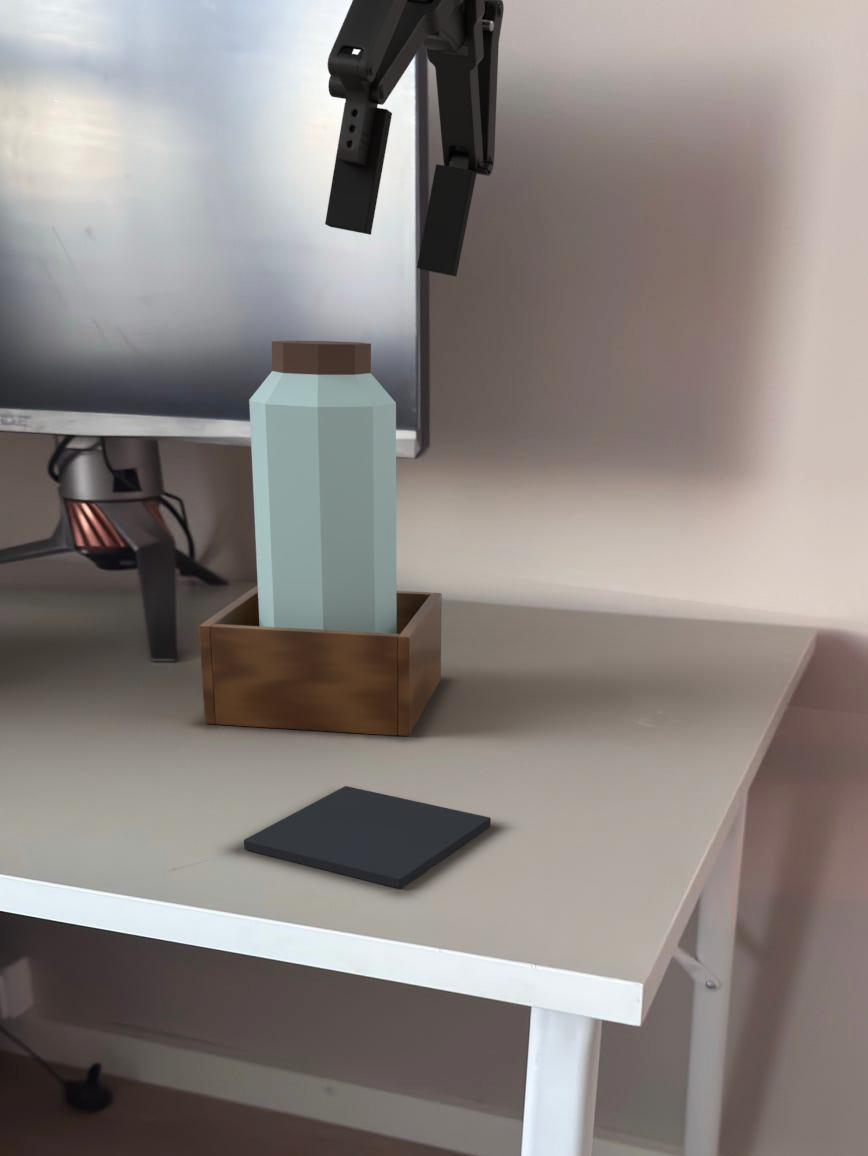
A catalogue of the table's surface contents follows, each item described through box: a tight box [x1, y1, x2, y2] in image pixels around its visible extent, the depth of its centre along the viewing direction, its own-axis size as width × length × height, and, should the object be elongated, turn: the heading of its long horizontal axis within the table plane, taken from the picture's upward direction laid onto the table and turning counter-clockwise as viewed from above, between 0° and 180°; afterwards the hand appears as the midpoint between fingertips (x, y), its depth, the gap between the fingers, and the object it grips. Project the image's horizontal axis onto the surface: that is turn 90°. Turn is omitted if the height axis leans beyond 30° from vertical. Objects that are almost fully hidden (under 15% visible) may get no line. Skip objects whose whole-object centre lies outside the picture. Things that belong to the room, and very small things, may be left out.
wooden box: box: [198, 584, 443, 737], centre depth 95 cm, size 15×15×7 cm
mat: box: [243, 785, 492, 890], centre depth 72 cm, size 10×10×1 cm
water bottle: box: [248, 340, 397, 634], centre depth 91 cm, size 10×10×25 cm
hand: (395, 253), depth 82 cm, fingers open, 13 cm apart
